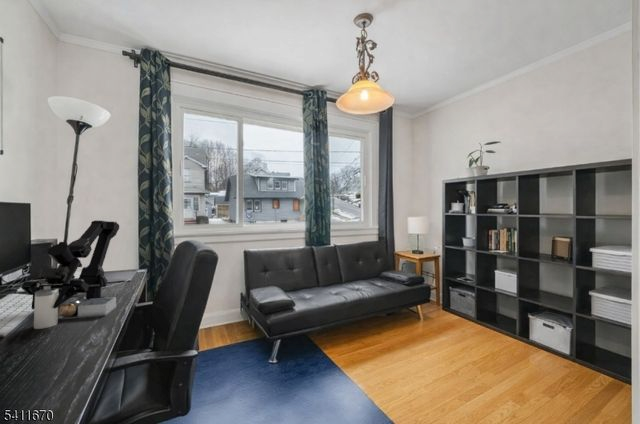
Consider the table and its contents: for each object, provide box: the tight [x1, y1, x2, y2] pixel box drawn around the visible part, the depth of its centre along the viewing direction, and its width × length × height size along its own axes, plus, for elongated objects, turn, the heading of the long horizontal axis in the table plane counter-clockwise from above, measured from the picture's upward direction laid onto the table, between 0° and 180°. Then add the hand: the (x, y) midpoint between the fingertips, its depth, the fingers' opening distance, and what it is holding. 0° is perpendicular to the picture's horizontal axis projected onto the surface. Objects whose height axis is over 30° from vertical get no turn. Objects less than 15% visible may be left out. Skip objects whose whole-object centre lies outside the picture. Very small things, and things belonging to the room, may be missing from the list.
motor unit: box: [58, 296, 117, 321], centre depth 109 cm, size 10×16×6 cm, turn 107°
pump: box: [33, 286, 60, 330], centre depth 97 cm, size 6×6×14 cm
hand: (43, 308), depth 96 cm, fingers closed on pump, 6 cm apart
